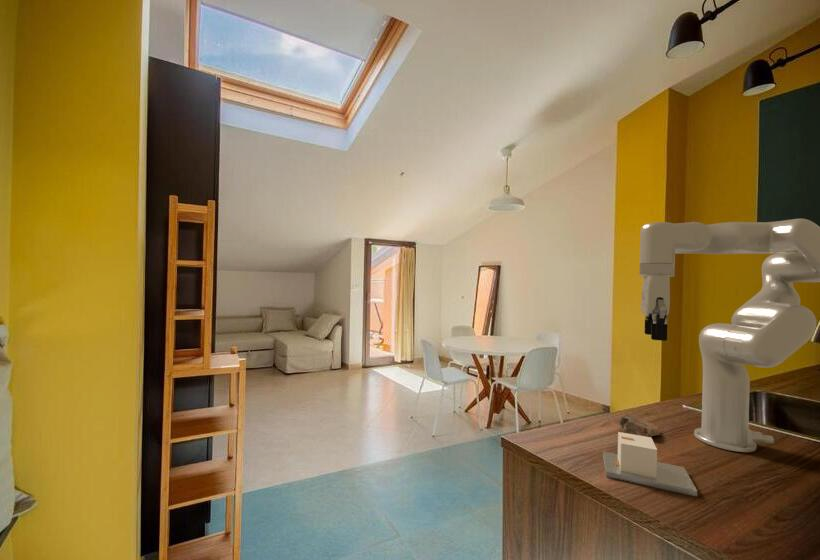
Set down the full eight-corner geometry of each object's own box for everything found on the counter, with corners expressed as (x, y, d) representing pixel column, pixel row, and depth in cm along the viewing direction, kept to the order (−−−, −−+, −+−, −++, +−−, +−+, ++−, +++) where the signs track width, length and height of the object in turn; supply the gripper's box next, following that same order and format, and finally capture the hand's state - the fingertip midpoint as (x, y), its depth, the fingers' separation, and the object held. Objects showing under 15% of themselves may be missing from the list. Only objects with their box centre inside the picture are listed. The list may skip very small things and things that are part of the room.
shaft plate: (683, 472, 81) (684, 453, 81) (697, 496, 72) (697, 475, 72) (603, 456, 88) (603, 439, 88) (606, 476, 79) (606, 457, 79)
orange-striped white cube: (650, 463, 83) (651, 436, 83) (656, 478, 77) (657, 448, 77) (617, 457, 85) (618, 430, 85) (620, 470, 79) (621, 442, 79)
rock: (627, 439, 98) (668, 437, 96) (621, 416, 100) (662, 413, 98) (618, 434, 106) (657, 432, 104) (613, 413, 108) (651, 410, 106)
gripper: (634, 271, 103) (633, 331, 103) (645, 270, 87) (643, 341, 87) (666, 271, 100) (665, 333, 100) (683, 270, 84) (681, 344, 84)
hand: (655, 337), depth 94 cm, fingers open, 9 cm apart
